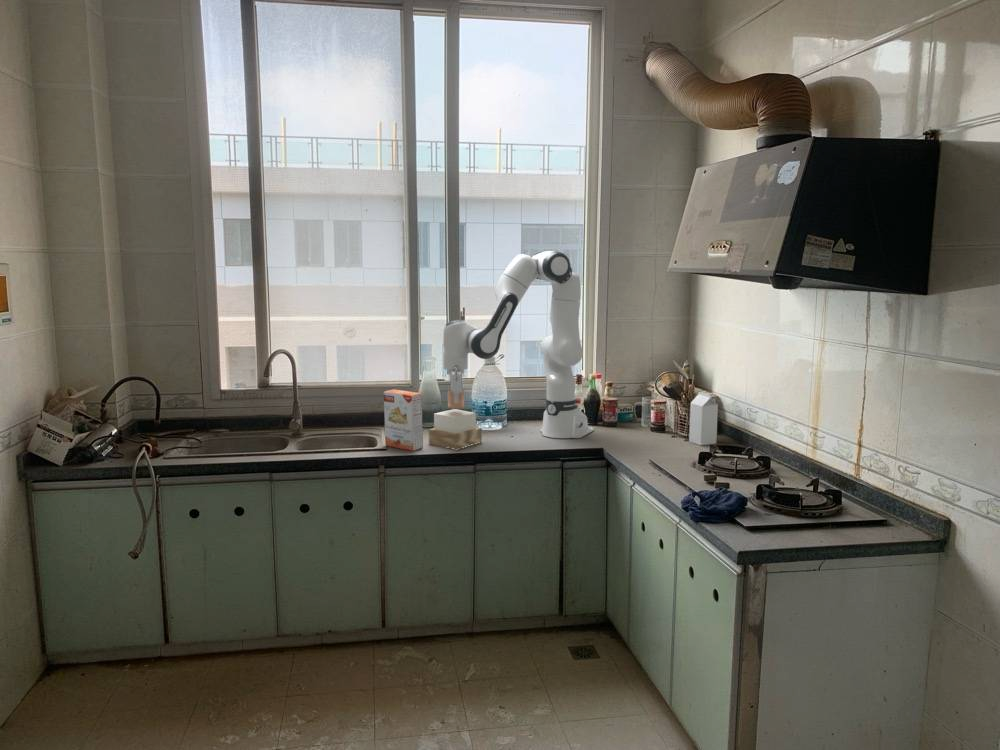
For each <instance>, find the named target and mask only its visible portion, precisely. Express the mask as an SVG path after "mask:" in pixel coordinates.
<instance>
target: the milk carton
mask: <svg viewBox="0 0 1000 750" xmlns="http://www.w3.org/2000/svg"><path fill="white" fill-rule="evenodd" d="M689 409H690V410H689V411H690V413H689V435H688V437H689V440H688V441H689V442H690V443H693V444H695V445H698V446H710V445H715V444H717V437H718V435H717V433H718V416H719V415H718V414H719V413H718V410H719V404H718V403H717V402H716V401H715V400H714V399H713V397H712V395H711V394H709V393H705V392H702V391H698V394H697V395H696V396H695V397H694V399H693V400H692V401H691V402H690V408H689Z"/></svg>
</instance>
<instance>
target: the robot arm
mask: <svg viewBox="0 0 1000 750" xmlns="http://www.w3.org/2000/svg"><path fill="white" fill-rule="evenodd" d="M535 280H542V281H547V282H549V283H550V284H551V288H552V289H551V291H552V293H551V301H550V312H549V322H550V325H551V331H552V332H551V334H550V335H547V336H545V338H543V340H542V341H541V344H540V351H541V354H542V359H543V365H544V372H545V378H546V379H545V380H546V398H545V399H544V401H545V402H544V404H545V410H544V411H543V417H542V427H541V428H540V432H541V435H542V436H544V437H548V438H552V439H580V438H582V437H584V436H586V435H588V434H590V433H591V432H593V431H594V428H593V427H592V426H589V425H588V416H587V415H586V414H585V413H584V412H583V411H581V410H580V409H579V408H578V405H581V403H582V400H581V398H576V397H575V396H576V379H575V376H574V374H573V370H572V366H576V365H577V364H578V363H580V362H581V360H582V358H583V356H584V355H583V354H584V350H583V347H582V345H581V337H580V327H579V323H580V322H579V319H580V318H579V317H580V307H581V297H582V296H581V295H582V294H581V293H582V292H581V291H582V290H581V289H582V287H581V286H582V285H581V277H580V276H579V274H577V273H576V272H574V271H573V267H572V266H571V262H570V259H569V257H568V256H567V255H566V254H564V253H563V252H561V251H557V250H546V251H540V252H537V253H534V254H533V255H528V254H523V253H520V254H517V255H515V256H514V258H513V259H512V260H511V261H510V263H509V264H508V265H507V266H506V268H505V269H504V271H503V272H502V274H501V276H500V277H499V279H498V281H497V283H496V286H495V289H494V294H495V297H496V308H495V310H494V311H493V314H492V316H491V317H490V319H489V321H488V323H487V325H486V326H485V327H484V328H481V327H478V326H474V325H472V324H470V323H468V322H467V321H466V320H464V319H455V320H450V321H449V322H447V323H446V324H445V326H444V329H443V338H442V339H443V341H442V342H443V343H442V344H443V348H444V352H443V369H444V370H446V373H447V374H448V376H449V382H450V390H451V391H452V393H453V395H454V403H459V393H461V391H462V390H463V388H462V387H463V386H462V374H464V373H465V370H467V369H469V367H468V364H469V363H468V354H471V353H472V354H474V355H475V356H476V357H478V358H480V359H482V360H487V359H491V358H493V357H494V356H495V355H496V354H497V353H498V352H499V350H500V347H501V340H502V336H503V334H504V332H505V330H506V328H507V326H508V325H509V322H510V321H511V319H512V317H513V315H514V313H515V311H516V309H517V308H518V305H519V304H520V302H521V301H522V298H523V297H524V296H525V295H526V293H527V291H528V289H529V288H530V286H531V284H532V283H533V282H534V281H535Z"/></svg>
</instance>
